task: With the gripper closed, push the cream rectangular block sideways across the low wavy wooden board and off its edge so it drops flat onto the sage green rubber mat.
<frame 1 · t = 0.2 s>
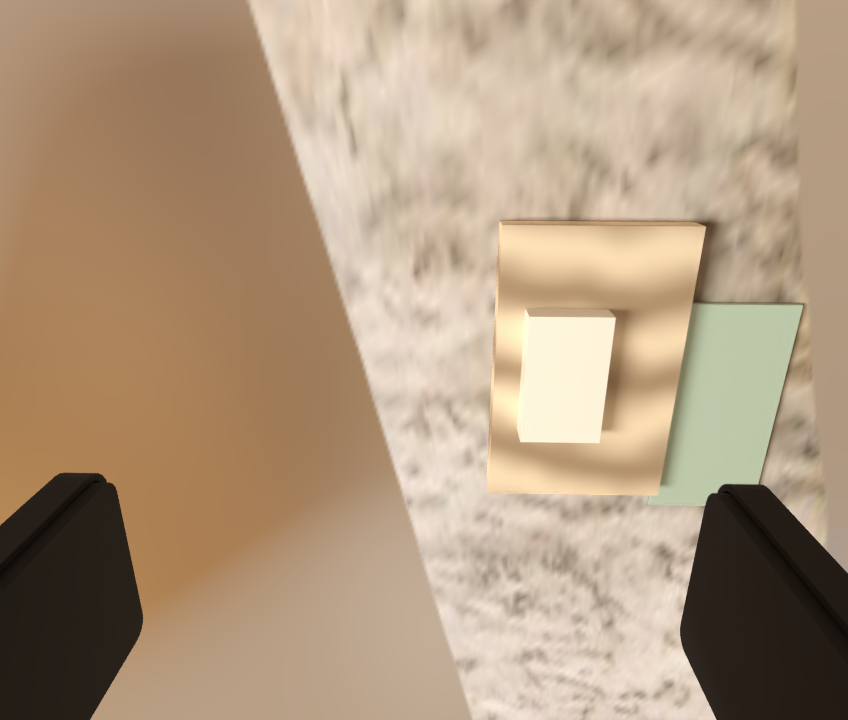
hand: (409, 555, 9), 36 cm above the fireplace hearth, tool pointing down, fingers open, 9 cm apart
wavy wooden board: (581, 362, 47), on the fireplace hearth
mat: (718, 409, 48), on the fireplace hearth
cream rectangular block: (560, 371, 45), point 2 cm above the fireplace hearth, touching wavy wooden board
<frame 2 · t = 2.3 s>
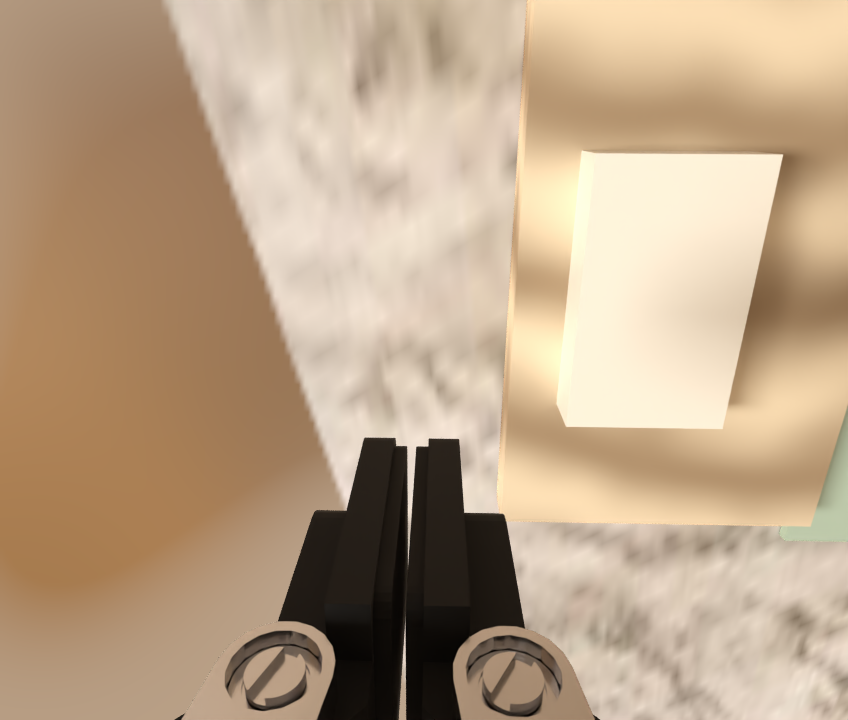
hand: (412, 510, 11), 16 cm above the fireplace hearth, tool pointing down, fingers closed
wavy wooden board: (678, 276, 25), on the fireplace hearth
cream rectangular block: (646, 288, 23), point 2 cm above the fireplace hearth, touching wavy wooden board
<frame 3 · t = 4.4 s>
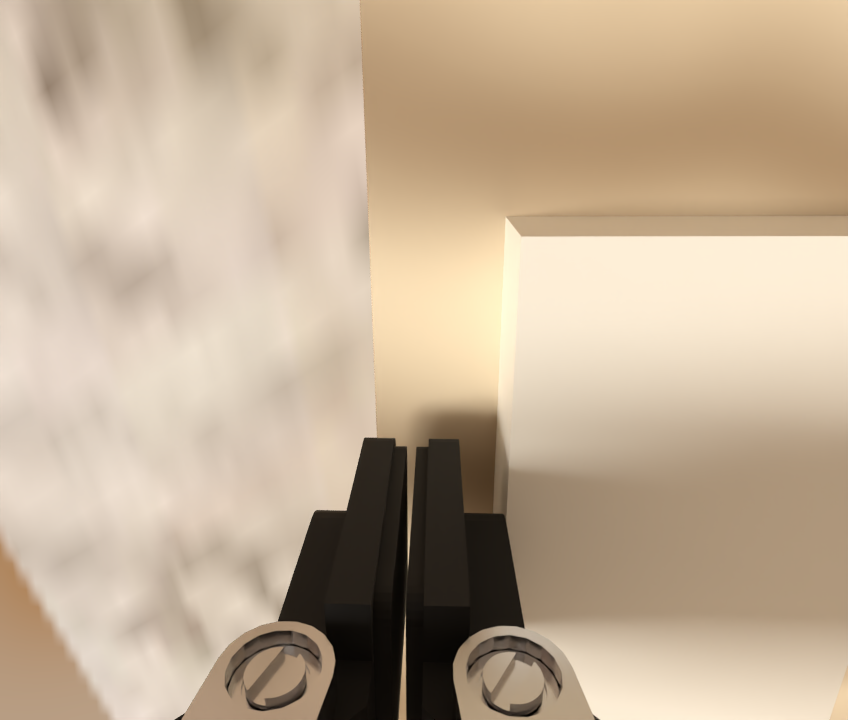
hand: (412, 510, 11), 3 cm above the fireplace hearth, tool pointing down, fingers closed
wavy wooden board: (701, 432, 13), on the fireplace hearth
cream rectangular block: (651, 482, 11), point 2 cm above the fireplace hearth, touching gripper
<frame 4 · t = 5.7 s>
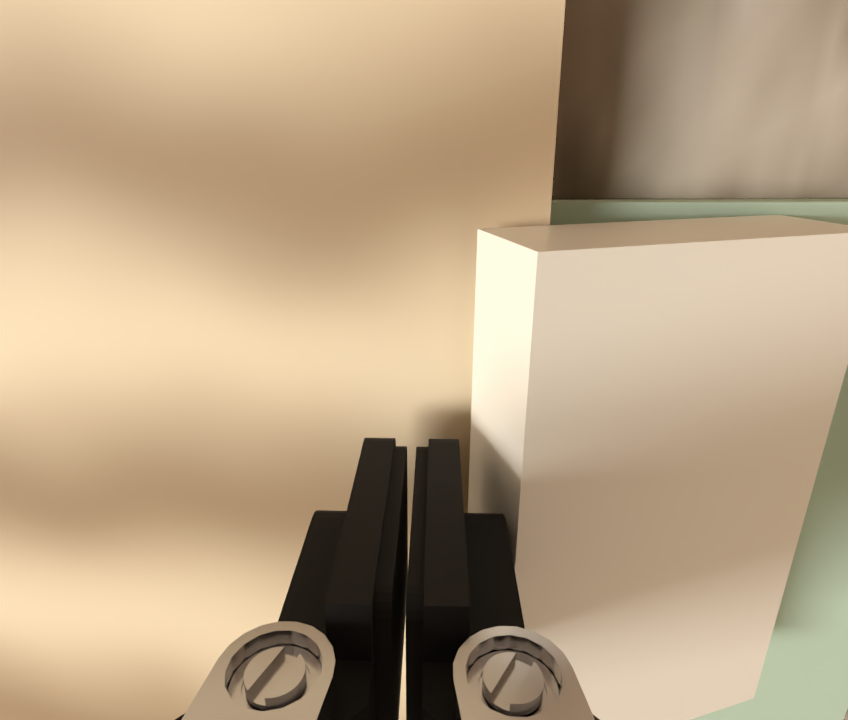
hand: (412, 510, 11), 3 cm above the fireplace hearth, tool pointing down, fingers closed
wavy wooden board: (209, 427, 13), on the fireplace hearth
mat: (693, 574, 15), on the fireplace hearth
cream rectangular block: (606, 473, 12), point 1 cm above the fireplace hearth, tilted 19°, touching gripper
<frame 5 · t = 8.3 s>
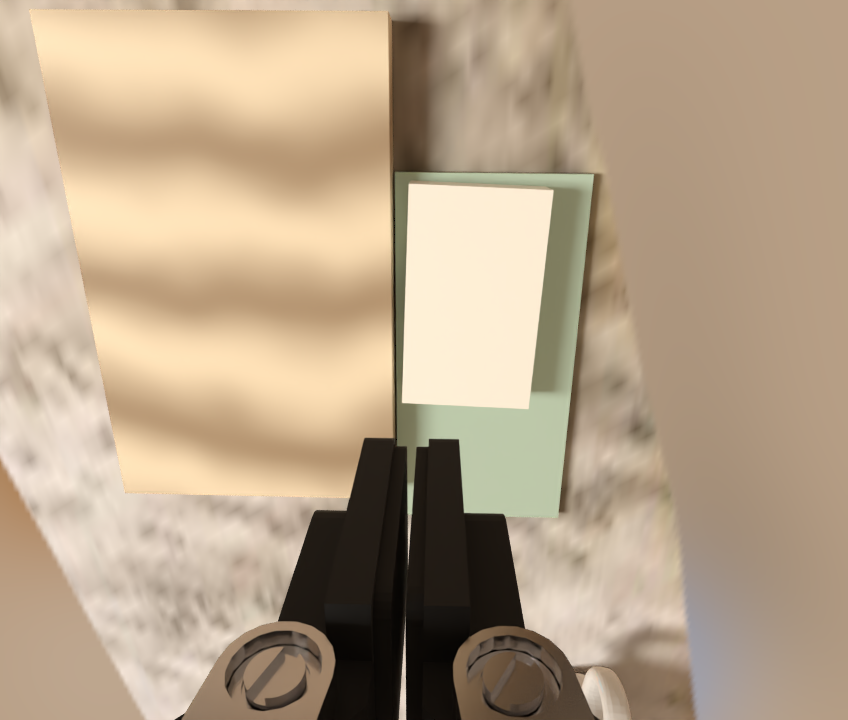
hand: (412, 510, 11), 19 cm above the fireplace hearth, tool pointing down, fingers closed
wavy wooden board: (249, 278, 29), on the fireplace hearth
mat: (484, 359, 30), on the fireplace hearth
cup: (570, 683, 38), on the fireplace hearth
cream rectangular block: (470, 292, 28), resting on mat
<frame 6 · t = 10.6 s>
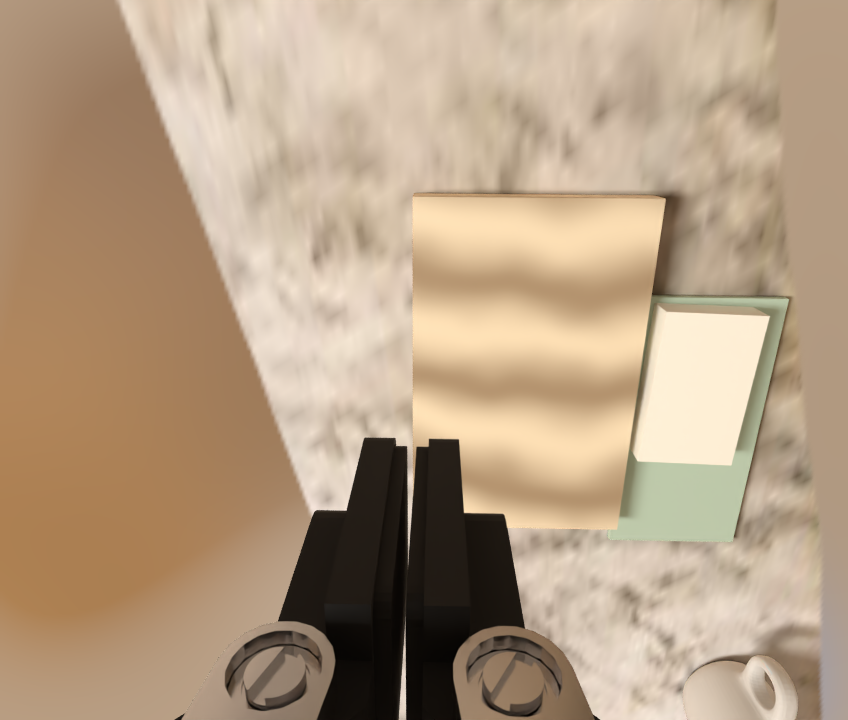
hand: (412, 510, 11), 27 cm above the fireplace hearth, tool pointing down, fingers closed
wavy wooden board: (521, 368, 39), on the fireplace hearth
mat: (688, 425, 40), on the fireplace hearth
cup: (723, 669, 48), on the fireplace hearth
cream rectangular block: (687, 379, 38), resting on mat
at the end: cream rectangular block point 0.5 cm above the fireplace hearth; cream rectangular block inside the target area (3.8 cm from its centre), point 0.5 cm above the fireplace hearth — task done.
